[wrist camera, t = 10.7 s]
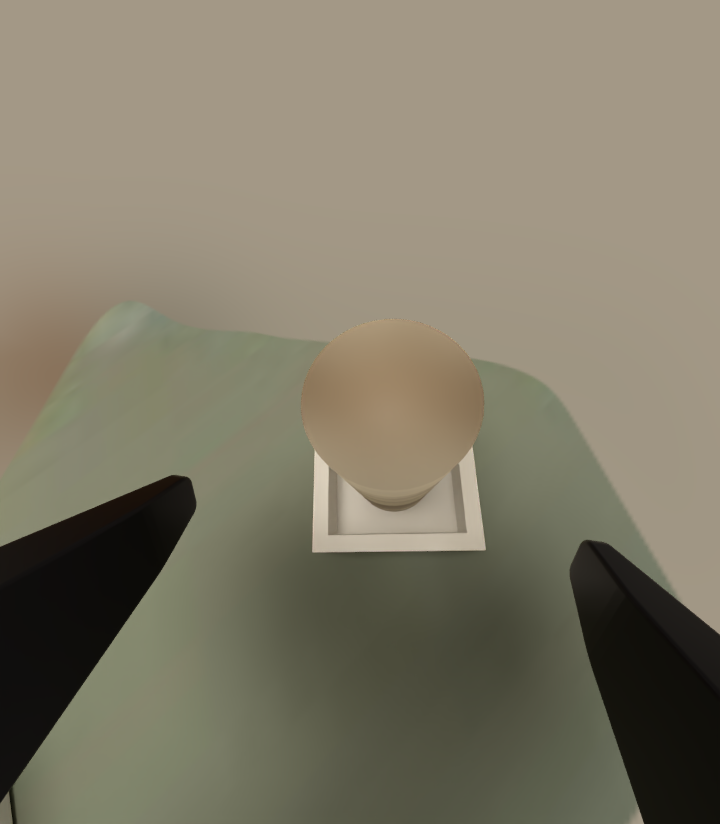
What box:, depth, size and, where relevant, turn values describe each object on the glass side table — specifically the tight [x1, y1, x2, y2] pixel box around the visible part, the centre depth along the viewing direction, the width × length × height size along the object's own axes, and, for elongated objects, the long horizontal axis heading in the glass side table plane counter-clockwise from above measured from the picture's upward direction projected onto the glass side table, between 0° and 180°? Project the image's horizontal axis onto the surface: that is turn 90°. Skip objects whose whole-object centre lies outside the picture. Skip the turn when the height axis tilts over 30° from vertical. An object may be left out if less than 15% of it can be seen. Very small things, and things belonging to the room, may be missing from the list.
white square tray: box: [312, 447, 486, 552], centre depth 20 cm, size 9×9×4 cm
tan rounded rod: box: [301, 319, 484, 512], centre depth 14 cm, size 4×4×13 cm
